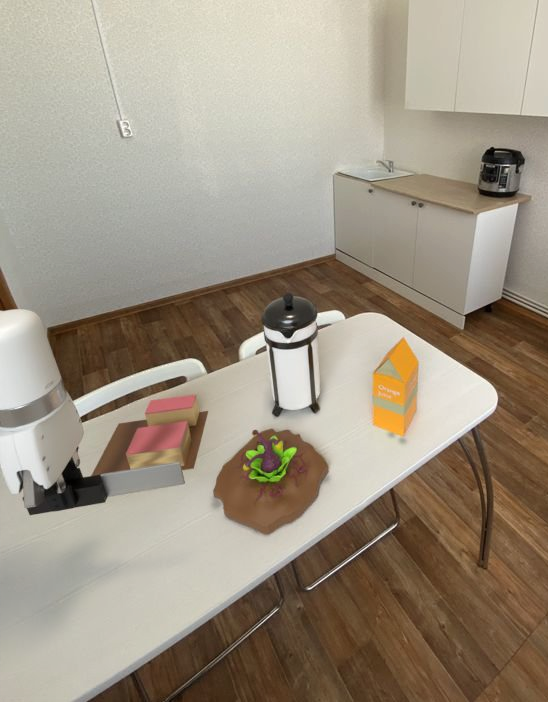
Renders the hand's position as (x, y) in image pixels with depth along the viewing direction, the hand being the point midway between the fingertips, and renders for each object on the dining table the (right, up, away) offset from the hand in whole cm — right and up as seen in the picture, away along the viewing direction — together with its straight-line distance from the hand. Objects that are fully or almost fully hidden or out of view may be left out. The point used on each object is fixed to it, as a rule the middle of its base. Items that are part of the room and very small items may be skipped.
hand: (69, 498), depth 57 cm
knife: (+5, 0, +1) cm, 6 cm away
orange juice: (+52, -3, +34) cm, 62 cm away
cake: (-2, -7, +27) cm, 28 cm away
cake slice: (0, -4, +32) cm, 33 cm away
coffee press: (+27, -1, +41) cm, 49 cm away
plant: (+26, -9, +19) cm, 34 cm away
